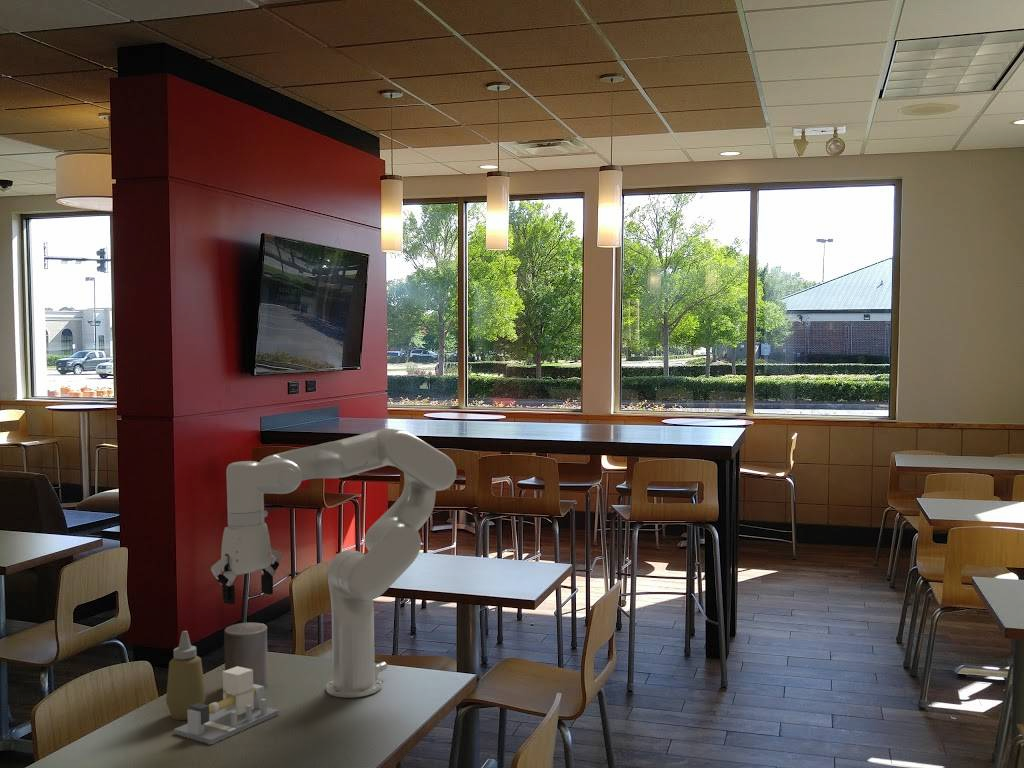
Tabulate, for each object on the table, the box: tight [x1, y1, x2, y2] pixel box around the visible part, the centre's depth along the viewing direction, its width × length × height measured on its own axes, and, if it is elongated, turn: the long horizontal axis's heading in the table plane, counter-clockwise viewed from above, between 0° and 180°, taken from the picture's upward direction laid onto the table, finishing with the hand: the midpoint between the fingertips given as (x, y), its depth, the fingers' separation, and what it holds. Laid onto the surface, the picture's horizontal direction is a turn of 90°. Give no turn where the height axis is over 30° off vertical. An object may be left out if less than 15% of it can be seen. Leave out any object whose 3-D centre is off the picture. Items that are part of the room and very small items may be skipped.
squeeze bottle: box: [165, 630, 207, 721], centre depth 197 cm, size 8×8×18 cm
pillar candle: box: [223, 622, 269, 688], centre depth 215 cm, size 10×10×15 cm
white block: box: [222, 666, 254, 715], centre depth 195 cm, size 4×5×8 cm
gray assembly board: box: [173, 684, 280, 746], centre depth 192 cm, size 18×11×6 cm, turn 148°
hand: (248, 598), depth 199 cm, fingers open, 9 cm apart
